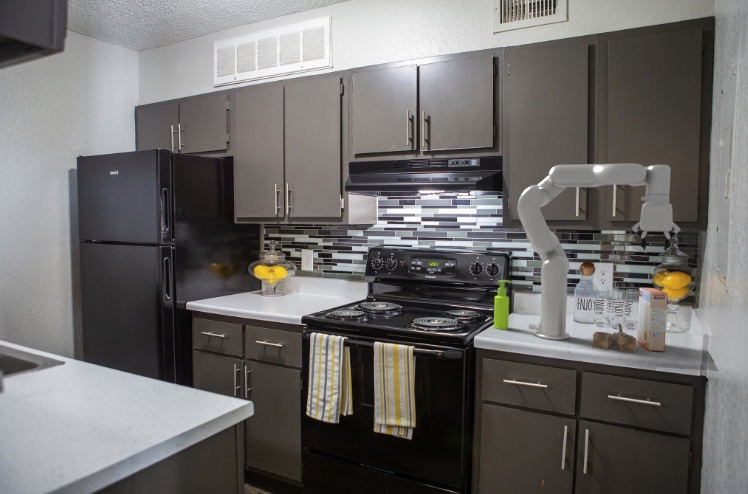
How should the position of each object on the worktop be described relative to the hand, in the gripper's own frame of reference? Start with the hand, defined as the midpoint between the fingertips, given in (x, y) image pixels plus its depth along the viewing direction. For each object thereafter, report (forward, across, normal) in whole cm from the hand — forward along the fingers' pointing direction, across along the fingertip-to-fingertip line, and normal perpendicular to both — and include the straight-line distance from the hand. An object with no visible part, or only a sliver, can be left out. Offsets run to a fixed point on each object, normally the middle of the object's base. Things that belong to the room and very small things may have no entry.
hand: (654, 249), depth 193 cm
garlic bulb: (+36, -10, -1) cm, 37 cm away
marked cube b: (+36, -16, -9) cm, 40 cm away
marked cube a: (+36, -8, -10) cm, 38 cm away
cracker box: (+36, 0, 0) cm, 36 cm away
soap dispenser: (+36, -55, +7) cm, 66 cm away
